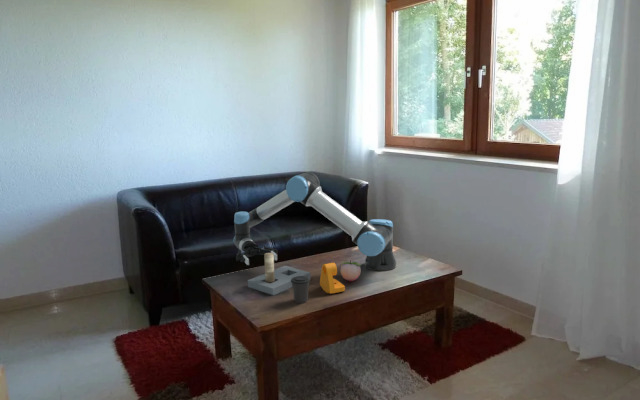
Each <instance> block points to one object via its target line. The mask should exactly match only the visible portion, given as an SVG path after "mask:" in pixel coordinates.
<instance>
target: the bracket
mask: <svg viewBox="0 0 640 400" xmlns="http://www.w3.org/2000/svg"><path fill="white" fill-rule="evenodd" d="M320 272H321V273H320V279H319V286H320V287H321V289H322V290H323V291H324V292H325V293H327V294H336V293H341V292H345V291H346V286H345V284H343V283H342V282H340V281H339V280H338V279H336V278H334V276H336V275H338V267H337V264H336V263H335V262H329V263H323V264H322V266H321V271H320Z"/></svg>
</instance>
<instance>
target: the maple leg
mask: <svg viewBox="0 0 640 400" xmlns="http://www.w3.org/2000/svg"><path fill="white" fill-rule="evenodd" d="M263 256H264V257H263V259H264V274H265V282H266V283H273V282H275V278H274V270H275V259H274V254H273V253H266V254H264V255H263Z"/></svg>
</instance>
